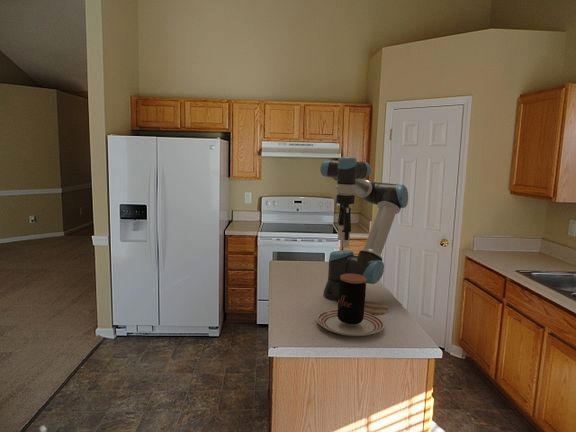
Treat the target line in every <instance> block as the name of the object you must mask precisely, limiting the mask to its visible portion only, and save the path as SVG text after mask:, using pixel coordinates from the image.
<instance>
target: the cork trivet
mask: <svg viewBox="0 0 576 432" xmlns="http://www.w3.org/2000/svg"><path fill="white" fill-rule="evenodd" d="M364 312H366V313H369V314H381V315H385V314H387V313H388V312H389V307H388V306H387V305H385V304H383V303H381V302H376V301H371V300H370V301H369V300H365V305H364ZM386 312H387V313H386ZM384 313H385V314H384Z"/></svg>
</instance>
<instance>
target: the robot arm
mask: <svg viewBox="0 0 576 432" xmlns="http://www.w3.org/2000/svg"><path fill="white" fill-rule="evenodd" d="M371 169H372V168H371V165H370V164H369V163H368V162H367V161H357V157H353V156H340V157H339V158H338V160H332V159H329V160H324V161H322V162H321V164H320V174H321V176H322V177H325V178H332V179H334V180H335V181H337V182H336V183H337V185H336V186H335V189H336V193H337V194H336V198H335V199H336V204H338V205H339V212H338V217H337V218H338V219H337V223H338V228H337V229H338V231H337V232H338V233H337V241H342V243H341V244H342V245H341V246H342V248H343V249H344V248H347V249H348V250H346V249H345V250H343V249H342V250H334V251H332V252H330V253H329V258H328V275H327V282H326V284H325V286H324V289H323V294H322V295H323V297H325V298H326V299H328V300H331V301H335V302H338V298H339V285H340V281H341V279H340V275H342V274H359V275H362V276H364V277H366V278H367V280H366V282H365V283H366V284H370V285H375V284H376V283H378V282H379V281H380V280H381V279H382V277H383V275H384V272H385V264H384V263H385V262H383V261H384V260H383V258H382V257H383V256H382V253H383V250H384V248H385V245H386V242H387V239H388V236H389V233H390V230H391V229H392V225H393V222H394V220H395V216H396V215H397V214H399V213H400V212H401V209H404V208H406V207H407V206H408V202H409V191H408V188H407V187H406V185H404V184H401V183H390V182H389V183H388V182H387V183H386V182H375V181H369V180H368V179H366V178H368V177H369V176H370V174H371V172H372V170H371ZM355 195H356V196H357V197H359V198H360V199H362V200H364V201H365V202H368V203H370V204H373V205H377V207H378V210H377V213H376V215H375V218H374V221H373V223H372V226H371V228H370V232H369V235H368V237H367V239H366V242H365V244H364V247H363V249H361V250H359V252H358V255H354V254H355V253H354V251H352V250H349V248H350V237H351V232H352V221H351V218H352V217H351V210H352V208H351V207H350V205H354V204H355Z"/></svg>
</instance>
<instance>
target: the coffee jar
mask: <svg viewBox="0 0 576 432" xmlns="http://www.w3.org/2000/svg"><path fill="white" fill-rule="evenodd" d="M340 279H341V281H340V285H339V298H338V301H337V309H338V312H337V317H338V319H339V320H340V321H341V322H343V323H346V324H359V323H361V322H362V320H363V317H364V305H365V301H366V291H367V283H365V282H366V280H367V278H366V277H364V276H362V275H359V274H342V275H340Z"/></svg>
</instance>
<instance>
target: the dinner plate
mask: <svg viewBox="0 0 576 432" xmlns="http://www.w3.org/2000/svg"><path fill="white" fill-rule="evenodd" d="M337 312H338V308H337V309H329V310H326V311H322V312H320V313H319V314H318V315H317V317H316V322H317V324H319V325H320V326H321V327H322V328H324V329H326V330H327V331H329V332H332V333H334V334H338V335H342V336H346V335H348V336H347V337H364V336H371V335H374V334H377V333H379V332H381V331H382V330H384V327H385V322H384V320H382V319H381V318H380V317H378V315H377V316H376V315H372V314H369V313H366V312H364V317H363V320H362V322H361V323H359V324H346V323H343V322H341V321H340V320H339V319H338V317H337Z"/></svg>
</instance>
